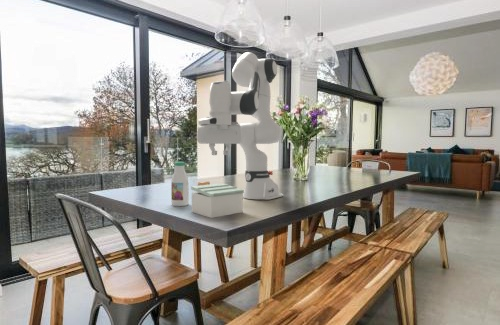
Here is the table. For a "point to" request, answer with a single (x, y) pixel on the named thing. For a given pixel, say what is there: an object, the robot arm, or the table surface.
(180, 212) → the table surface
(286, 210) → the table surface
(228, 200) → the box
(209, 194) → the snap lid
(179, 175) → the milk bottle
